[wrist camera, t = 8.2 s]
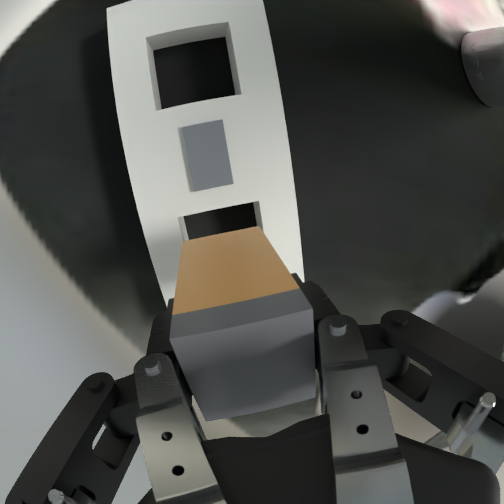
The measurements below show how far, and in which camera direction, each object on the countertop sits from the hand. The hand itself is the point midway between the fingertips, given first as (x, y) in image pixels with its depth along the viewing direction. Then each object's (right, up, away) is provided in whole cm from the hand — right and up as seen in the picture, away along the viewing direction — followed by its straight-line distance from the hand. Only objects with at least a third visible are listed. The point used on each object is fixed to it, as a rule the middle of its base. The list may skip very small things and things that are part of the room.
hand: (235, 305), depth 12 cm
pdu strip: (-2, +9, +7) cm, 12 cm away
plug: (-1, +1, +3) cm, 4 cm away
